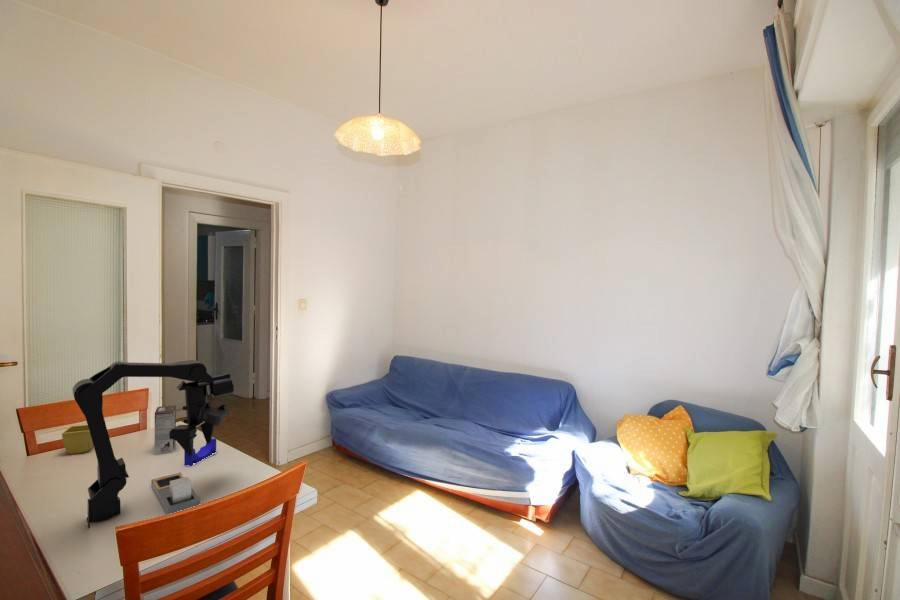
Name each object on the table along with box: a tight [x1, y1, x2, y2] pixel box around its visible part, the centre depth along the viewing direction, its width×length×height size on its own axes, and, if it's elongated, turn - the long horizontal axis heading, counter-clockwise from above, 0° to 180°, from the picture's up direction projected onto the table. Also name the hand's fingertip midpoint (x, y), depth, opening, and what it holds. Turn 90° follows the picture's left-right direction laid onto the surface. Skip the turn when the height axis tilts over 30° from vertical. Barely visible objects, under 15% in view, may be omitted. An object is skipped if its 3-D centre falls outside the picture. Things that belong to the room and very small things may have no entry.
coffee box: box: [153, 405, 177, 455], centre depth 165 cm, size 9×6×16 cm
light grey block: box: [170, 476, 192, 506], centre depth 123 cm, size 4×4×7 cm
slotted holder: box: [150, 472, 201, 515], centre depth 128 cm, size 8×24×3 cm, turn 44°
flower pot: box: [61, 424, 94, 455], centre depth 161 cm, size 9×9×9 cm
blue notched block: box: [183, 437, 217, 467], centre depth 157 cm, size 12×4×6 cm, turn 169°
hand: (199, 449), depth 132 cm, fingers open, 9 cm apart
